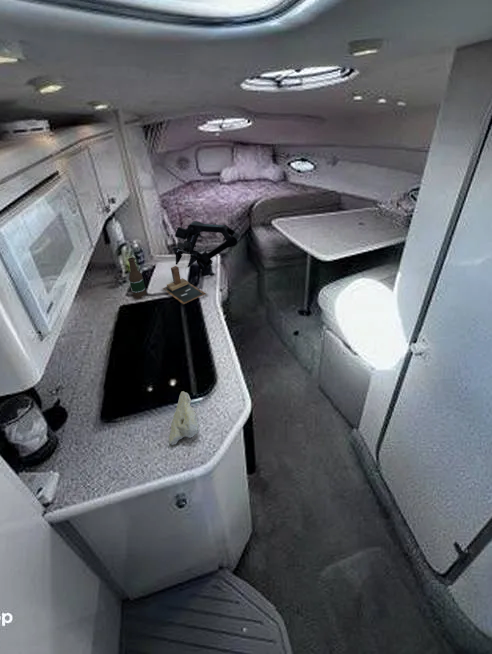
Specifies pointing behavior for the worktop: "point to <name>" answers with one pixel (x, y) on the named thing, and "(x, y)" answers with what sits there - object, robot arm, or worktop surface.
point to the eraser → (176, 280)
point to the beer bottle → (136, 280)
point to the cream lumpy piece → (183, 420)
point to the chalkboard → (190, 296)
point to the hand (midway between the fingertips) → (182, 265)
